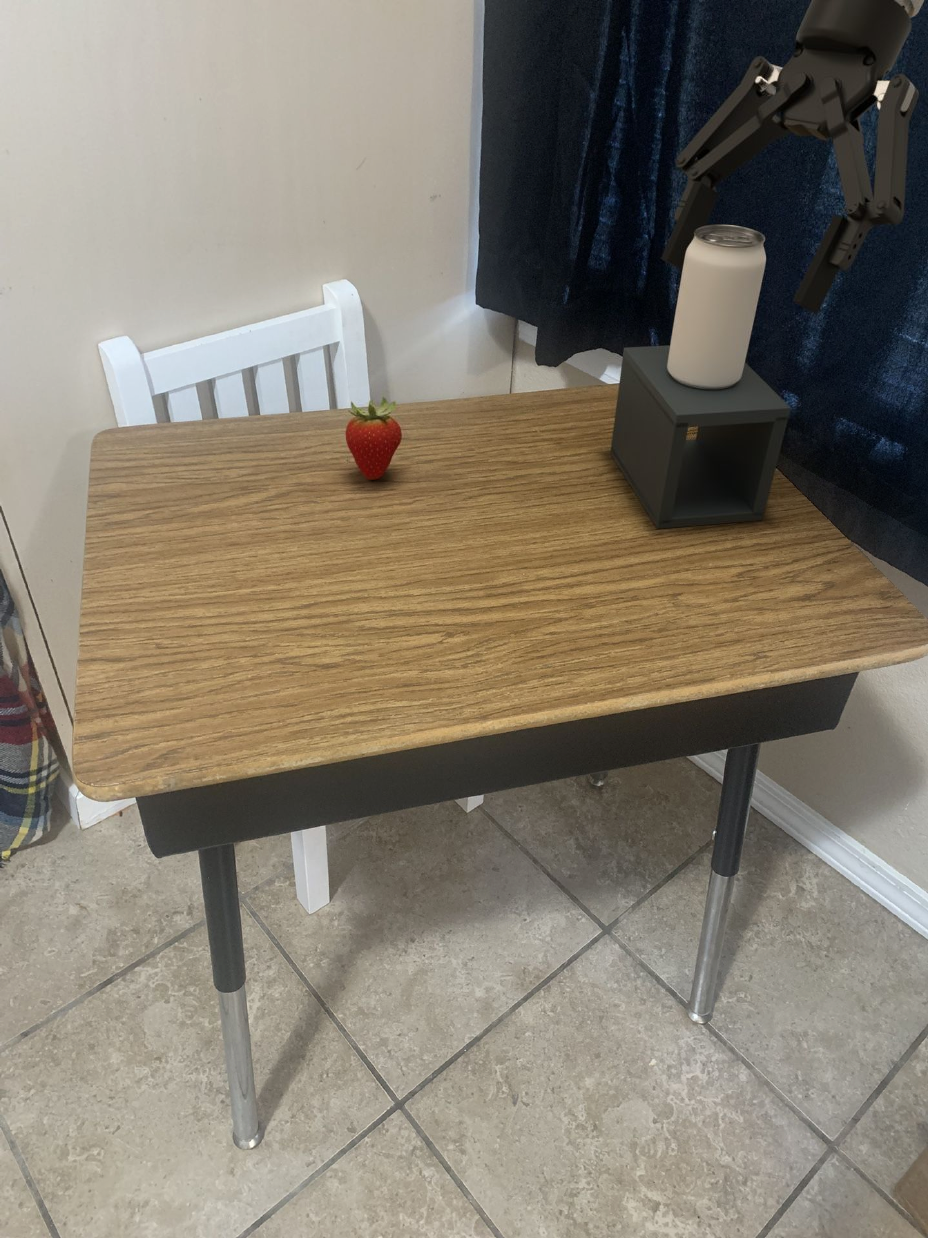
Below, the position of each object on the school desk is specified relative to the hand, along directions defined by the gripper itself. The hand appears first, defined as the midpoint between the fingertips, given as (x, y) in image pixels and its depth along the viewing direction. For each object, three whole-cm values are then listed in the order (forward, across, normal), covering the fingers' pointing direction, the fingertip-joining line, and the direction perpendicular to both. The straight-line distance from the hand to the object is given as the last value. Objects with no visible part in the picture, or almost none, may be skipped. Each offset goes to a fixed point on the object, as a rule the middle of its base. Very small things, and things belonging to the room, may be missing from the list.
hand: (735, 285), depth 79 cm
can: (+7, +3, -5) cm, 9 cm away
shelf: (+17, +3, -10) cm, 20 cm away
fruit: (+27, +20, +11) cm, 36 cm away
